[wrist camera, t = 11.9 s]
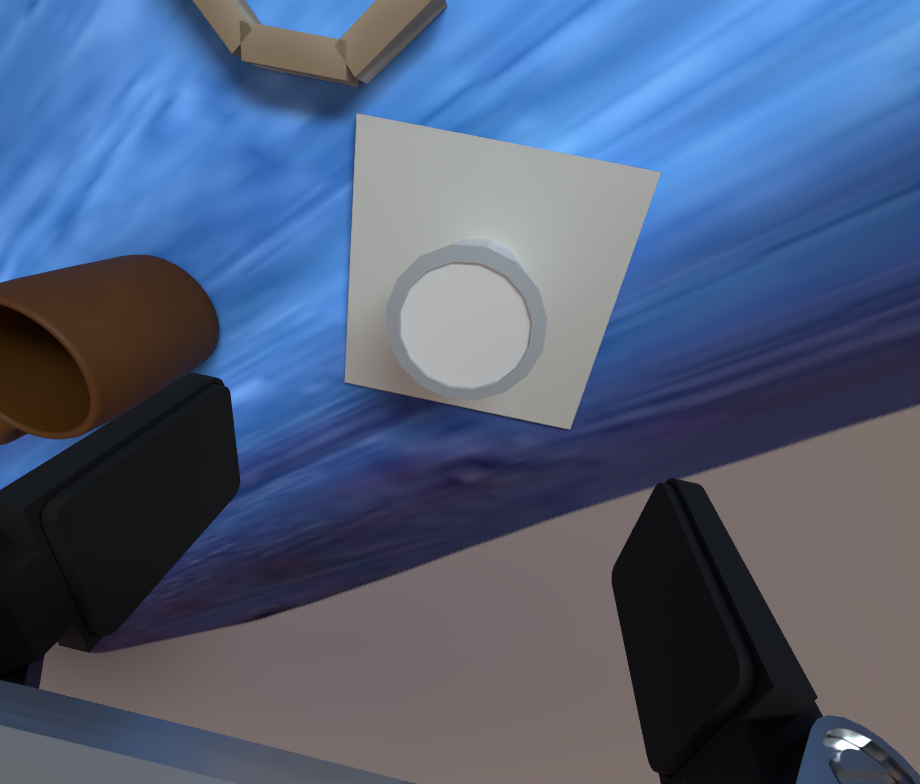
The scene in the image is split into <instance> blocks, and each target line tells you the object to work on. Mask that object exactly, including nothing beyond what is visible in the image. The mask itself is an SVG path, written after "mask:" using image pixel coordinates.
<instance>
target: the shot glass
mask: <svg viewBox="0 0 920 784" xmlns="http://www.w3.org/2000/svg"><path fill="white" fill-rule="evenodd" d="M386 321H387V338H388V340H389V343H390V345H391V347H392V349H393V352H394V354H395V356H396V358H397V361H398V363H399V365H400V366H401V367H402V368H403V369H404V370H405V371H406V372H407V373H408V374H409V375H410V376H411V377H412V378H413V379H414V380H415V381H416V382H417V383H418V384H419V385H421V386H423V387H425V388H427V389H429V390H431V391H434V392H436V393H438V394H440V395H442V396H444V397H446V398H456V399H466V400H479V399H483V398H486V397H490V396H494V395H498V394H502V393H504V392H506V391H507V390H508V389H510V388H511V387H513V386H514V385H515V384H517V383H518V382H520V381H521V380H522V379H524V378H525V377H527V376H528V374H529V372H530V371H531V369H532V368H533V366H534V364H535V363H536V361H537V360H538V358H539V356H540V355H541V353H542V351H543V347H544V340H545V334H546V327H547V317H546V313H545V309H544V306H543V302H542V299H541V295H540V291H539V288H538V287H537V285H536V284H535V282H534V281H533V279H532V278H531V276H530V275H529V273H528V271H527V270H526V268H525V267H524V265H523V264H522V262H521V261H520V260H519V259H518V258H517V256H516V255H515V254H514V253H513V251H512V250H511V249H510V248H509V247H507V246H505V245H503V244H501V243H499V242H498V241H496V240H494V239H492V238H480V237H469V238H466V239H463V240H461V241H458V242H455V243H453V244H450V245H447V246H445V247H442V248H440V249H437V250H434V251H432V252H429V253H427V254H424V255H422V256H420V257H419V258H418V259H417V260H416V261H415V262H414V263H413V264H412V265H411V266H410V267H409V268H407V269H406V270H405V271H404V272H403V273H402V274H401V275H400V276H399V277H398V278H397V280H396V283H395V286H394V288H393V291H392V293H391V296H390V298H389V301H388V303H387V306H386Z"/></svg>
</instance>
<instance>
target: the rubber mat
mask: <svg viewBox="0 0 920 784" xmlns="http://www.w3.org/2000/svg"><path fill="white" fill-rule="evenodd" d="M660 175H661V172H658V171H652V170H647V169H642V168H637V167H632V166H627V165H621V164H616V163H611V162H606V161H601V160H596V159H590V158H585V157H580V156H575V155H570V154H565V153H559V152H554V151H549V150H544V149H539V148H534V147H528V146H523V145H518V144H513V143H508V142H503V141H497V140H492V139H487V138H482V137H477V136H472V135H466V134H461V133H456V132H451V131H446V130H441V129H435V128H430V127H425V126H420V125H415V124H410V123H404V122H399V121H394V120H389V119H384V118H378V117H373V116H368V115H363V114H358V113H357V119H356V141H355V164H354V186H353V208H352V231H351V253H350V275H349V298H348V320H347V342H346V364H345V382H346V383H351V384H356V385H360V386H365V387H370V388H375V389H379V390H384V391H389V392H394V393H398V394H403V395H408V396H413V397H417V398H422V399H427V400H432V401H436V402H441V403H446V404H451V405H455V406H460V407H465V408H470V409H475V410H479V411H484V412H489V413H494V414H498V415H503V416H508V417H513V418H517V419H522V420H527V421H532V422H536V423H541V424H546V425H551V426H555V427H560V428H565V429H570V428H571V426H572V423H573V420H574V417H575V414H576V412H577V409H578V406H579V403H580V400H581V397H582V395H583V392H584V389H585V386H586V383H587V381H588V378H589V375H590V372H591V369H592V366H593V364H594V361H595V358H596V355H597V352H598V350H599V347H600V344H601V341H602V338H603V335H604V333H605V330H606V327H607V324H608V321H609V319H610V316H611V313H612V310H613V307H614V304H615V302H616V299H617V296H618V293H619V290H620V288H621V285H622V282H623V279H624V276H625V274H626V271H627V268H628V265H629V262H630V259H631V257H632V254H633V251H634V248H635V245H636V243H637V240H638V237H639V234H640V231H641V228H642V226H643V223H644V220H645V217H646V214H647V212H648V209H649V206H650V203H651V200H652V197H653V195H654V192H655V189H656V186H657V183H658V181H659V178H660ZM469 237H480V238H492V239H494V240H496V241H498V242H499V243H501V244H503V245H505V246H507V247H509V248H510V249H511V250H512V251H513V253H514V254H515V255H516V256H517V258H518V259H519V260H520V261H521V262H522V264H523V265H524V267H525V268H526V270H527V271H528V273H529V275H530V276H531V278H532V279H533V281H534V282H535V284H536V285H537V287H538V288H539V291H540V295H541V299H542V302H543V306H544V309H545V313H546V317H547V327H546V334H545V340H544V347H543V351H542V353H541V355H540V356H539V358H538V360H537V361H536V363H535V364H534V366H533V368H532V369H531V371H530V372H529V374H528V376H527V377H525V378H524V379H522V380H521V381H520V382H518V383H517V384H515V385H514V386H513V387H511V388H510V389H508V390H507V391H506V392H504V393H502V394H498V395H494V396H490V397H486V398H483V399H479V400H466V399H456V398H446V397H444V396H442V395H440V394H438V393H436V392H434V391H431V390H429V389H427V388H425V387H423V386H421V385H419V384H418V383H417V382H416V381H415V380H414V379H413V378H412V377H411V376H410V375H409V374H408V373H407V372H406V371H405V370H404V369H403V368H402V367H401V366H400V365H399V363H398V361H397V358H396V356H395V354H394V352H393V349H392V347H391V345H390V343H389V340H388V338H387V321H386V306H387V303H388V301H389V298H390V296H391V293H392V291H393V288H394V286H395V283H396V280H397V278H398V277H399V276H400V275H401V274H402V273H403V272H404V271H405V270H406V269H407V268H409V267H410V266H411V265H412V264H413V263H414V262H415V261H416V260H417V259H418V258H419V257H420V256H422V255H424V254H427V253H429V252H432V251H434V250H437V249H440V248H442V247H445V246H447V245H450V244H453V243H455V242H458V241H461V240H463V239H466V238H469Z"/></svg>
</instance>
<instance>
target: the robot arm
mask: <svg viewBox="0 0 920 784" xmlns="http://www.w3.org/2000/svg"><path fill="white" fill-rule="evenodd" d="M239 485H240V474H239V465H238V457H237V448H236V439H235V430H234V421H233V412H232V403H231V395H230V390H229V389H228V388H227V387H226V386H224V383H223V382H222V380H221V379H219V378H216V377H211V376H207V375H202V374H198V373H189V374H187V375H185V376H183V377H182V378H180V379H178V380H177V381H175V382H174V383H172V384H170V385H169V386H167V387H165V388H164V389H162V390H161V391H159V392H157V393H156V394H154V395H153V396H151V397H149V398H148V399H146V400H145V401H143V402H141V403H140V404H138V405H137V406H135V407H133V408H132V409H130V410H128V411H127V412H125V413H124V414H122V415H120V416H119V417H117V418H116V419H114V420H112V421H111V422H109V423H108V424H106V425H104V426H103V427H101V428H99V429H98V430H96V431H95V432H93V433H91V434H90V435H88V436H87V437H85V438H83V439H82V440H80V441H79V442H77V443H75V444H74V445H72V446H70V447H69V448H67V449H66V450H64V451H62V452H61V453H59V454H58V455H56V456H54V457H53V458H51V459H50V460H48V461H46V462H45V463H43V464H41V465H40V466H38V467H37V468H35V469H33V470H32V471H30V472H29V473H27V474H25V475H24V476H22V477H21V478H19V479H17V480H16V481H14V482H13V483H11V484H9V485H8V486H6V487H4V488H3V489H1V490H0V784H415V783H411V782H407V781H403V780H399V779H395V778H391V777H387V776H384V775H379V774H376V773H372V772H368V771H364V770H360V769H356V768H352V767H348V766H344V765H340V764H336V763H332V762H328V761H325V760H321V759H317V758H313V757H309V756H305V755H301V754H297V753H293V752H289V751H285V750H281V749H277V748H274V747H269V746H266V745H262V744H257V743H254V742H250V741H246V740H242V739H238V738H234V737H229V736H226V735H222V734H218V733H214V732H210V731H206V730H202V729H198V728H194V727H190V726H186V725H182V724H178V723H174V722H170V721H166V720H162V719H158V718H154V717H150V716H146V715H142V714H138V713H134V712H130V711H126V710H122V709H118V708H114V707H110V706H105V705H102V704H98V703H94V702H89V701H86V700H81V699H78V698H73V697H69V696H65V695H61V694H57V693H53V692H49V691H45V690H41V689H39V685H40V679H41V673H42V667H43V661H44V655H45V653H46V652H47V651H48V650H49V649H50V648H51V647H52V646H53V645H54V644H55V643H56V642H57V641H58V643H59V645H60V646H64V647H68V648H72V649H76V650H80V651H84V652H88V653H89V652H90V651H91V650H92V649H93V647H94V646H95V645H96V644H97V643H98V642H99V641H100V640H101V639H102V637H103V636H104V635H105V636H107V635H110V634H112V633H113V632H115V631H116V630H117V629H118V628H119V627H120V626H121V625H122V624H123V623H124V622H125V621H126V619H127V618H128V617H129V616H130V615H131V614H132V613H133V612H134V610H135V609H136V608H137V607H138V606H139V605H140V604H141V602H142V601H143V600H144V599H145V598H146V597H147V596H148V594H149V593H150V592H151V591H152V590H153V589H154V588H155V586H156V585H157V584H158V583H159V582H160V581H161V580H162V578H163V577H164V576H165V575H166V574H167V573H168V572H169V570H170V569H171V568H172V567H173V566H174V565H175V564H176V562H177V561H178V560H179V559H180V558H181V557H182V556H183V554H184V553H185V552H186V551H187V550H188V549H189V548H190V546H191V545H192V544H193V543H194V542H195V541H196V540H197V539H198V537H199V536H200V535H201V534H202V533H203V532H204V531H205V529H206V528H207V527H208V526H209V525H210V524H211V523H212V521H213V520H214V519H215V518H216V517H217V516H218V515H219V513H220V512H221V511H222V510H223V509H224V508H225V507H226V505H227V504H228V503H229V502H230V501H231V500H232V499H233V497H234V496H235V495H236V493H237V491H238V489H239ZM612 587H613V592H614V597H615V601H616V606H617V611H618V616H619V621H620V626H621V631H622V636H623V641H624V646H625V650H626V656H627V660H628V665H629V670H630V675H631V680H632V685H633V690H634V695H635V700H636V705H637V710H638V714H639V719H640V724H641V729H642V734H643V739H644V744H645V749H646V754H647V758H648V761H649V764H650V766H651V768H652V769H653V771H655V772H658V773H659V777H660V782H661V784H920V775H919V774H918V773H917V772H916V771H915V770H914V769H913V767H912V766H911V765H910V764H909V763H908V762H907V761H906V760H905V759H904V758H903V756H901V755H900V754H899V753H898V752H897V751H896V750H895V749H893V748H892V747H891V746H890V745H888V744H887V743H886V742H885V741H884V740H883V739H882V738H880V737H879V736H877V735H876V734H874V733H873V732H871V731H870V730H868V729H867V728H865V727H863V726H862V725H860V724H857V723H855V722H853V721H851V720H848V719H846V718H844V717H837V716H830V715H828V716H825V717H823V716H822V714H821V712H820V710H819V708H818V706H817V705H816V703H815V701H814V700H815V699H817V698H818V697H817V695H816V693H815V691H814V690H813V688H812V686H811V684H810V682H809V681H808V679H807V677H806V675H805V673H804V672H803V670H802V668H801V666H800V664H799V662H798V660H797V659H796V657H795V655H794V653H793V651H792V649H791V648H790V646H789V644H788V642H787V640H786V638H785V637H784V635H783V633H782V631H781V629H780V627H779V626H778V624H777V622H776V620H775V618H774V616H773V615H772V613H771V611H770V609H769V607H768V605H767V604H766V602H765V600H764V598H763V596H762V594H761V593H760V591H759V589H758V587H757V585H756V583H755V582H754V580H753V578H752V576H751V574H750V573H749V571H748V569H747V567H746V565H745V563H744V561H743V560H742V558H741V556H740V554H739V552H738V551H737V549H736V547H735V545H734V543H733V541H732V539H731V538H730V536H729V534H728V532H727V530H726V528H725V527H724V525H723V523H722V521H721V520H720V517H719V516H718V514H717V512H716V510H715V508H714V506H713V505H712V503H711V501H710V500H709V497H708V495H707V494H706V492H705V490H704V488H703V487H702V486H701V485H699V484H697V483H692V482H687V481H683V480H678V479H674V478H670V479H668V480H667V481H666V482H665V483H658V484H657V485H656V487H655V488H654V490H653V492H652V494H651V496H650V498H649V500H648V502H647V503H646V505H645V507H644V509H643V511H642V513H641V515H640V517H639V519H638V521H637V523H636V525H635V527H634V528H633V530H632V532H631V535H630V536H629V538H628V540H627V542H626V544H625V546H624V548H623V549H622V551H621V553H620V555H619V557H618V559H617V561H616V563H615V565H614V567H613V571H612Z"/></svg>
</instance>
